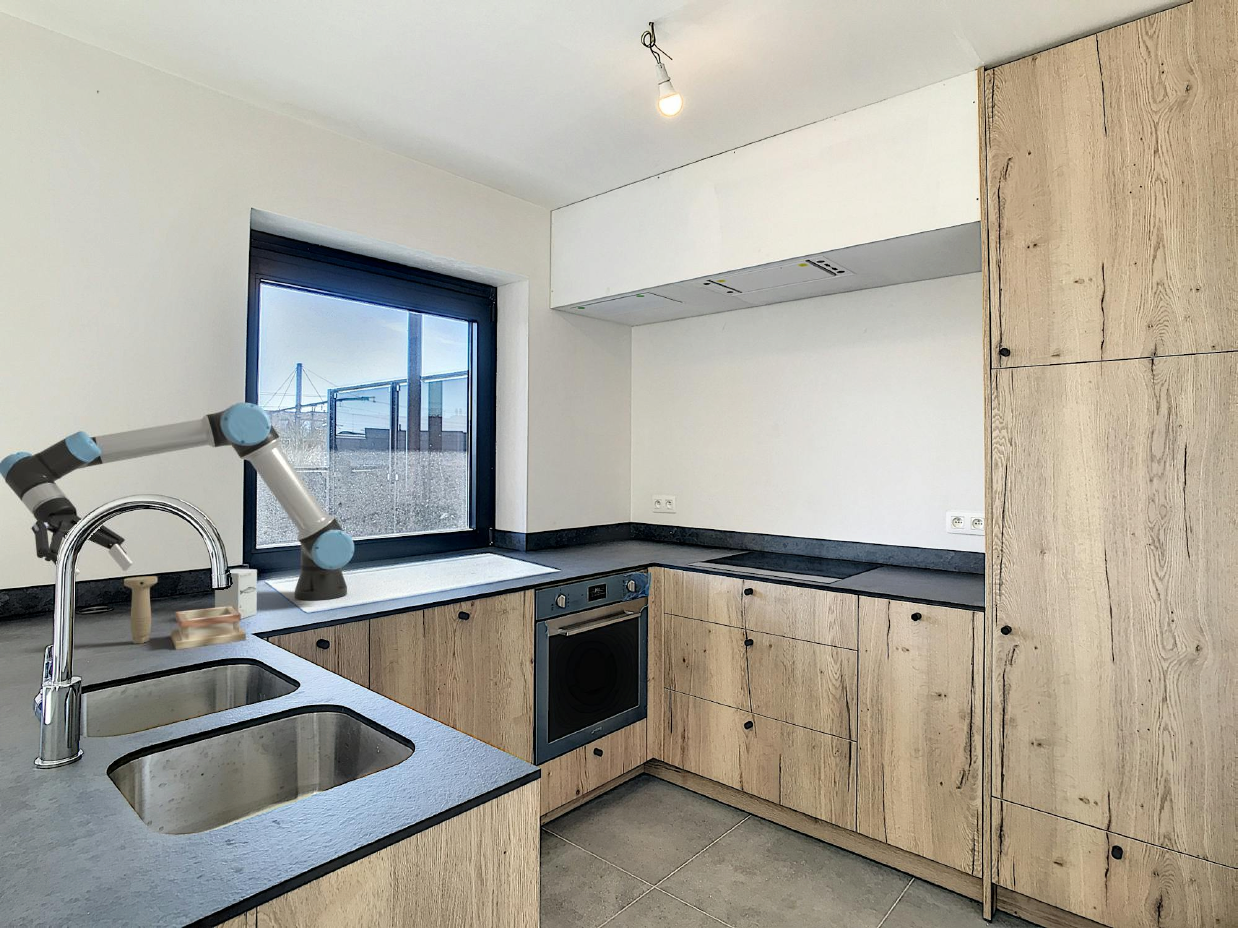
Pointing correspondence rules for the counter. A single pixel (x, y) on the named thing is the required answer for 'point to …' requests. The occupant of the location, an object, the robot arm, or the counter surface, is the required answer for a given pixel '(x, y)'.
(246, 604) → the supplement box
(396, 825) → the counter surface
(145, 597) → the handle
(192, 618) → the board
